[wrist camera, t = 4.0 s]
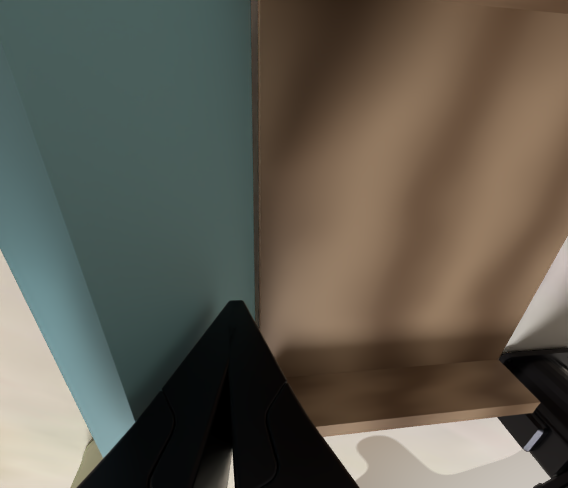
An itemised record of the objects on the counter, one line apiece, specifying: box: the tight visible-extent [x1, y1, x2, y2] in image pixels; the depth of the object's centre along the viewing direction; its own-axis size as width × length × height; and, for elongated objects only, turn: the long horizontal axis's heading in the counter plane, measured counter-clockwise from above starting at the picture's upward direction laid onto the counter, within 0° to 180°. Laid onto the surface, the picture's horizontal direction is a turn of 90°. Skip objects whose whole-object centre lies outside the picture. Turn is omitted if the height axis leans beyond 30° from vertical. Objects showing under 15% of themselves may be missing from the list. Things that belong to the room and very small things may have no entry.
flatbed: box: [258, 0, 568, 437], centre depth 13 cm, size 16×20×5 cm
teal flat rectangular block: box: [0, 0, 255, 458], centre depth 9 cm, size 2×17×8 cm, turn 178°
